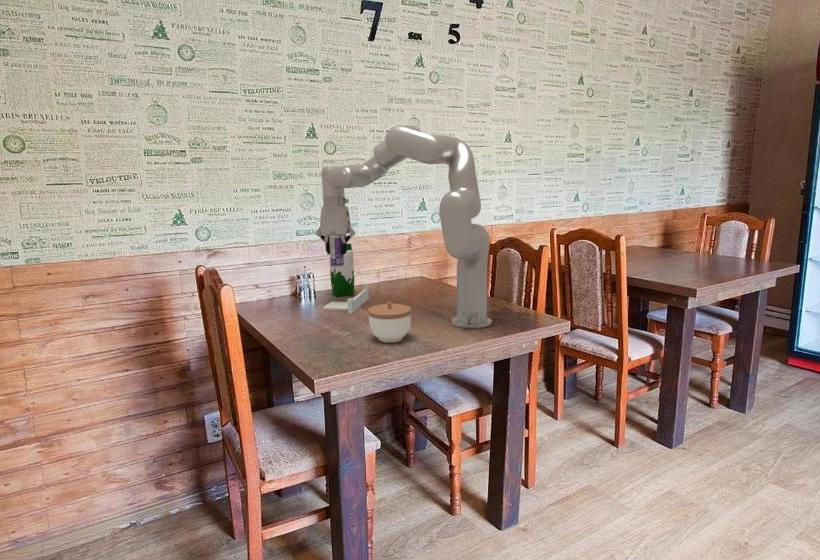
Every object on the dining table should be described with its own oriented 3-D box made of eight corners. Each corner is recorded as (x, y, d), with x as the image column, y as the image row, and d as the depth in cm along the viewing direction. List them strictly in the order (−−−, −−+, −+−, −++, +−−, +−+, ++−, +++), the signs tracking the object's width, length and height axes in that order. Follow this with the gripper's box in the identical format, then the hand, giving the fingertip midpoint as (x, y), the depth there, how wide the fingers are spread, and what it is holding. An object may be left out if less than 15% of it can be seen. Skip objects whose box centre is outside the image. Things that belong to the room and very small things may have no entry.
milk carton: (356, 296, 216) (354, 245, 212) (333, 298, 213) (331, 246, 209) (352, 291, 224) (350, 242, 220) (329, 293, 221) (327, 243, 217)
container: (344, 264, 200) (342, 222, 197) (343, 266, 195) (341, 224, 192) (331, 264, 200) (329, 223, 196) (329, 266, 195) (327, 224, 192)
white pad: (347, 310, 195) (347, 308, 195) (323, 309, 197) (322, 307, 197) (354, 303, 204) (354, 302, 204) (331, 303, 206) (331, 301, 206)
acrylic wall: (352, 313, 190) (351, 299, 189) (347, 313, 191) (347, 299, 190) (369, 298, 211) (369, 285, 210) (365, 298, 211) (364, 285, 210)
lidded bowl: (360, 339, 162) (358, 302, 160) (391, 329, 171) (390, 295, 169) (389, 348, 154) (387, 310, 151) (420, 338, 162) (420, 301, 160)
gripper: (360, 201, 195) (362, 252, 198) (315, 201, 198) (317, 252, 202) (354, 203, 187) (356, 256, 191) (307, 203, 191) (310, 255, 195)
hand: (336, 253), depth 196 cm, fingers closed on container, 4 cm apart
